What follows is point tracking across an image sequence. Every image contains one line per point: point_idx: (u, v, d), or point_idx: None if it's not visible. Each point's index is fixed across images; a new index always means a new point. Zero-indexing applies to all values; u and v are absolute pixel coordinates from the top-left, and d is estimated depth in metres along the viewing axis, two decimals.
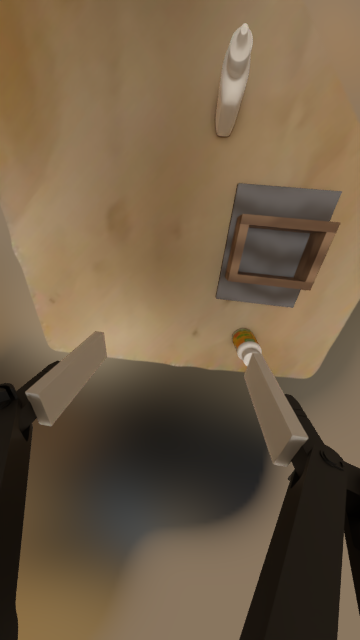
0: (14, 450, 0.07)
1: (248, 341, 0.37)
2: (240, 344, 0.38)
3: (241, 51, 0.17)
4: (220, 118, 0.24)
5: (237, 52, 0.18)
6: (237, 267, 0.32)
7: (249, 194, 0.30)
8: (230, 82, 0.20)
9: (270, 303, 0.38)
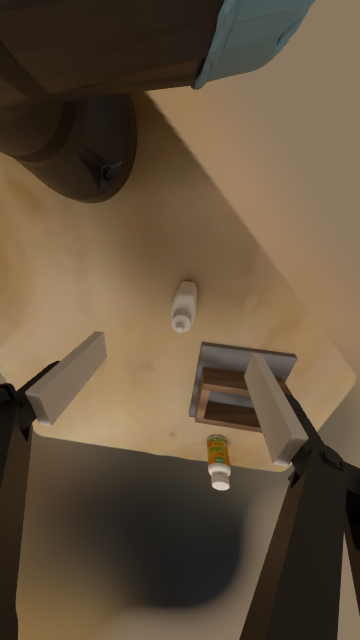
0: (14, 450, 0.07)
1: (218, 462, 0.40)
2: (210, 464, 0.40)
3: None
4: None
5: None
6: (202, 414, 0.34)
7: (212, 352, 0.32)
8: None
9: None
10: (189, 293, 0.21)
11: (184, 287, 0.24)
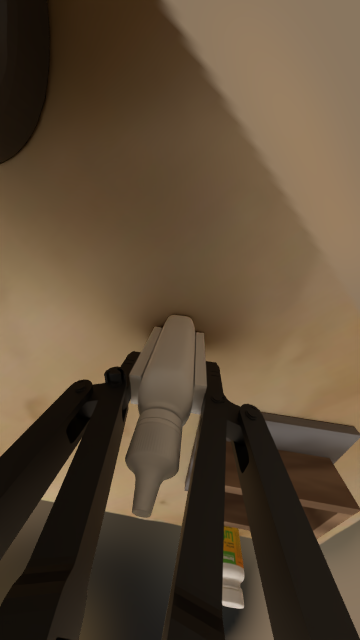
0: (115, 430, 0.08)
1: (226, 562, 0.27)
2: None
3: None
4: None
5: None
6: None
7: None
8: None
9: None
10: (176, 364, 0.09)
11: (169, 338, 0.11)
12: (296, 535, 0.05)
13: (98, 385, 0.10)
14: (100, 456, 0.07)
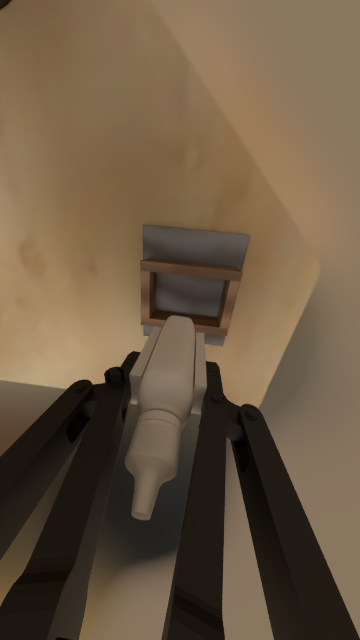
0: (115, 430, 0.08)
1: None
2: None
3: None
4: None
5: None
6: (147, 312, 0.30)
7: (156, 236, 0.28)
8: None
9: None
10: (176, 365, 0.09)
11: (169, 339, 0.11)
12: (296, 535, 0.05)
13: (98, 385, 0.10)
14: (100, 456, 0.07)
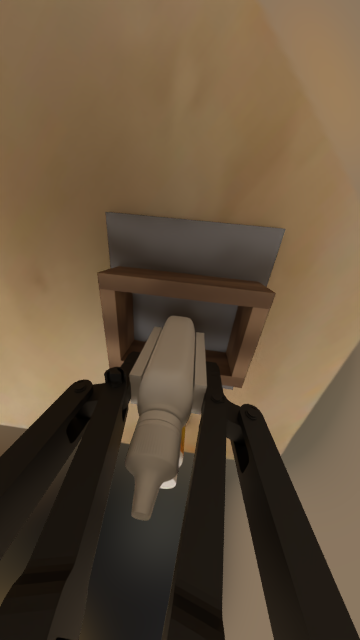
0: (115, 430, 0.08)
1: None
2: None
3: None
4: None
5: None
6: (117, 351, 0.19)
7: (128, 230, 0.17)
8: None
9: None
10: (176, 366, 0.09)
11: (169, 339, 0.11)
12: (296, 535, 0.05)
13: (98, 385, 0.10)
14: (100, 457, 0.06)
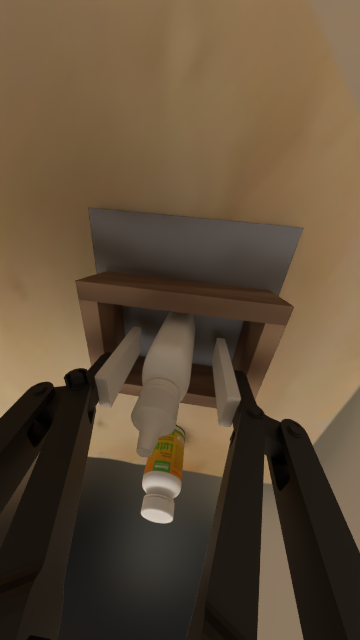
0: (81, 431, 0.08)
1: (157, 470, 0.22)
2: (145, 473, 0.22)
3: None
4: None
5: None
6: None
7: (116, 229, 0.15)
8: None
9: None
10: (176, 343, 0.11)
11: (171, 324, 0.13)
12: (347, 573, 0.05)
13: (62, 387, 0.10)
14: (65, 459, 0.06)
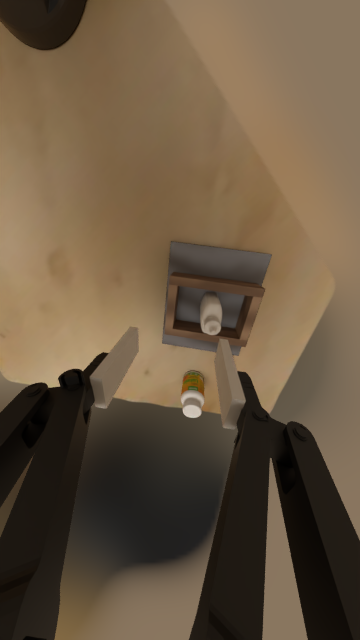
0: (77, 432, 0.08)
1: (190, 389, 0.37)
2: (183, 392, 0.37)
3: None
4: None
5: (210, 332, 0.24)
6: (171, 322, 0.31)
7: (182, 252, 0.30)
8: None
9: (215, 350, 0.38)
10: (217, 303, 0.26)
11: (211, 297, 0.28)
12: (355, 579, 0.05)
13: (56, 388, 0.10)
14: (60, 460, 0.06)
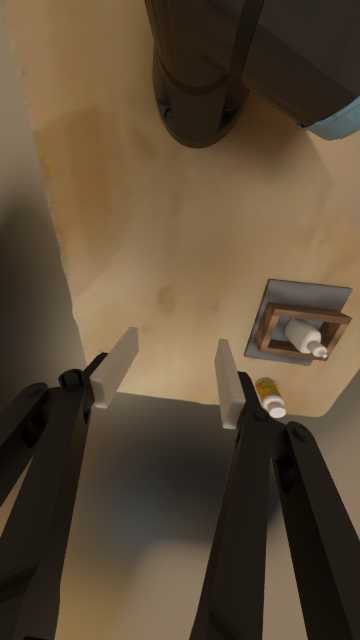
0: (77, 432, 0.08)
1: (272, 394, 0.45)
2: (265, 397, 0.45)
3: (320, 355, 0.32)
4: (293, 344, 0.39)
5: (317, 355, 0.32)
6: (267, 343, 0.39)
7: (278, 287, 0.38)
8: (307, 349, 0.35)
9: (290, 362, 0.46)
10: (317, 330, 0.34)
11: (305, 324, 0.36)
12: (355, 579, 0.05)
13: (56, 388, 0.10)
14: (60, 460, 0.06)
